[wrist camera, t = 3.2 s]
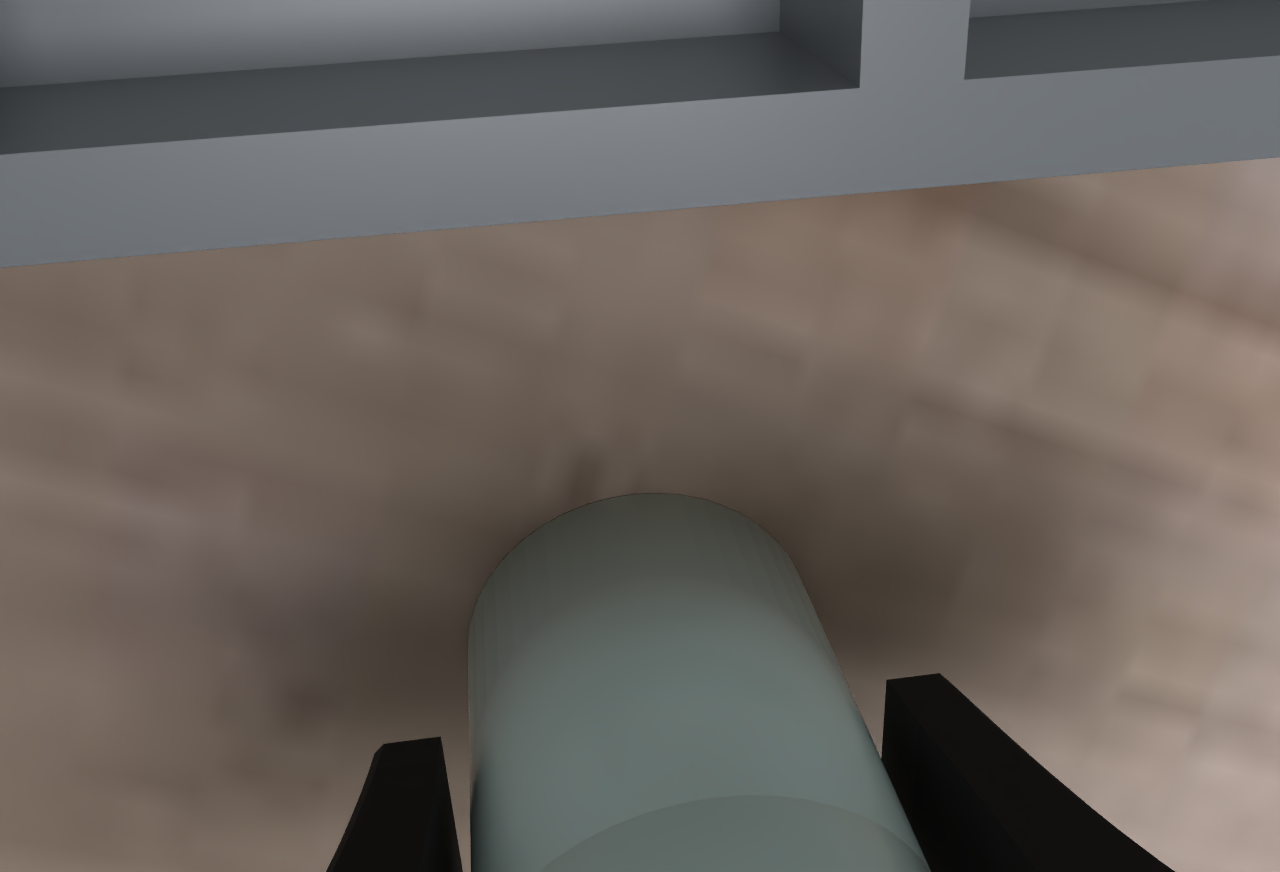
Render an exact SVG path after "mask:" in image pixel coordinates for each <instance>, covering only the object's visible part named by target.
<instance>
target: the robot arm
mask: <svg viewBox="0 0 1280 872" xmlns="http://www.w3.org/2000/svg"><path fill="white" fill-rule="evenodd" d="M881 760H882V762H883V765H884V767H885V769H886V771H887V774H888V776H889V778H890V780H891V783H892V785H893V787H894V789H895V792H896V794H897V796H898V798H899V801H900V803H901V805H902V807H903V810H904V812H905V814H906V816H907V819H908V821H909V823H910V825H911V828H912V830H913V832H914V834H915V837H916V839H917V841H918V843H919V846H920V848H921V850H922V852H923V855H924V857H925V859H926V861H927V864H928V866H929V868H930V870H931V872H1175V871H1173V870H1172V869H1170V868H1169V867H1168V866H1166V865H1165V864H1163V863H1162V862H1161V861H1159V860H1158V859H1157V858H1155V857H1154V856H1153V855H1151V854H1150V853H1149V852H1147V851H1146V850H1145V849H1143V848H1142V847H1141V846H1139V845H1138V844H1137V843H1135V842H1134V841H1133V840H1132V839H1130V838H1129V837H1128V836H1126V835H1125V834H1124V833H1122V832H1121V831H1120V830H1118V829H1117V828H1116V827H1115V826H1113V825H1112V824H1111V823H1110V822H1108V821H1107V820H1106V819H1105V818H1103V817H1102V816H1101V815H1100V814H1098V813H1097V812H1096V811H1095V810H1093V809H1092V808H1091V807H1090V806H1089V805H1088V804H1086V803H1085V802H1084V801H1083V800H1082V799H1080V798H1079V797H1078V796H1077V795H1076V794H1074V793H1073V792H1072V791H1071V790H1070V789H1069V788H1067V787H1066V786H1065V785H1064V784H1063V783H1061V782H1060V781H1059V780H1058V779H1057V778H1056V777H1054V776H1053V775H1052V774H1051V773H1050V772H1048V771H1047V770H1046V769H1045V768H1044V767H1043V766H1042V765H1040V764H1039V763H1038V762H1037V761H1036V760H1035V759H1034V758H1032V757H1031V756H1030V755H1029V754H1028V753H1027V752H1026V751H1025V750H1024V749H1022V748H1021V747H1020V746H1019V745H1018V744H1017V743H1016V742H1015V741H1014V740H1012V739H1011V738H1010V737H1009V736H1008V735H1007V734H1006V733H1005V732H1004V731H1002V730H1001V729H1000V728H999V727H998V726H997V725H996V724H995V723H994V722H993V721H992V720H990V719H989V718H988V717H987V716H986V715H985V714H984V713H983V712H982V711H981V710H980V709H979V708H977V707H976V706H975V705H974V704H973V703H972V702H971V701H970V700H969V699H968V698H967V697H966V696H964V695H963V694H962V693H961V692H960V691H959V690H958V689H957V688H956V687H955V686H953V685H952V684H951V683H950V682H949V681H948V680H947V679H946V678H944V677H943V676H942V675H941V674H940V673H938V674H930V675H922V676H914V677H906V678H898V679H891V680H887V682H886V697H885V712H884V728H883V743H882V758H881ZM326 872H463V870H462V864H461V858H460V852H459V846H458V840H457V834H456V828H455V821H454V815H453V809H452V803H451V797H450V791H449V785H448V779H447V772H446V766H445V760H444V754H443V748H442V742H441V737H434V738H427V739H419V740H411V741H403V742H395V743H387V744H383V745H382V746H381V747H380V748H379V749H378V750H377V752H376V753H375V754H374V757H373V760H372V763H371V767H370V770H369V773H368V775H367V778H366V781H365V784H364V786H363V789H362V792H361V794H360V797H359V799H358V802H357V804H356V807H355V809H354V812H353V814H352V817H351V819H350V821H349V823H348V826H347V828H346V830H345V833H344V835H343V837H342V839H341V842H340V844H339V846H338V848H337V851H336V853H335V855H334V857H333V859H332V861H331V863H330V865H329V867H328V869H327V871H326Z"/></svg>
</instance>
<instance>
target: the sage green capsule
mask: <svg viewBox="0 0 1280 872" xmlns="http://www.w3.org/2000/svg"><path fill="white" fill-rule="evenodd" d="M468 691H469V762H470V833H471V872H931V870H930V868H929V866H928V864H927V861H926V859H925V857H924V855H923V852H922V850H921V848H920V846H919V843H918V841H917V839H916V837H915V834H914V832H913V830H912V828H911V825H910V823H909V821H908V819H907V816H906V814H905V812H904V810H903V807H902V805H901V803H900V801H899V798H898V796H897V794H896V792H895V789H894V787H893V785H892V783H891V780H890V778H889V776H888V774H887V771H886V769H885V767H884V765H883V762H882V760H881V758H880V756H879V753H878V751H877V749H876V747H875V744H874V742H873V740H872V738H871V735H870V733H869V731H868V729H867V726H866V724H865V722H864V720H863V717H862V715H861V713H860V711H859V709H858V706H857V704H856V702H855V700H854V697H853V695H852V693H851V691H850V688H849V686H848V684H847V682H846V679H845V677H844V675H843V673H842V670H841V668H840V666H839V664H838V661H837V659H836V657H835V655H834V652H833V650H832V648H831V646H830V643H829V641H828V639H827V637H826V634H825V632H824V630H823V628H822V625H821V623H820V621H819V619H818V616H817V614H816V612H815V610H814V607H813V605H812V603H811V601H810V598H809V596H808V594H807V592H806V589H805V587H804V585H803V583H802V580H801V578H800V576H799V574H798V571H797V569H796V567H795V566H794V564H793V562H792V561H791V559H790V557H789V556H788V554H787V553H786V551H785V550H784V549H783V548H782V547H781V546H780V544H779V543H778V542H777V541H776V540H775V538H773V537H772V536H771V535H770V534H769V533H768V532H767V531H765V530H764V529H763V528H762V527H761V526H760V525H758V524H757V523H755V522H753V521H752V520H750V519H749V518H747V517H746V516H744V515H743V514H740V513H738V512H736V511H734V510H732V509H730V508H728V507H725V506H723V505H720V504H717V503H714V502H711V501H707V500H704V499H700V498H695V497H690V496H684V495H677V494H661V493H651V494H632V495H626V496H620V497H614V498H608V499H605V500H601V501H598V502H594V503H591V504H587V505H584V506H582V507H580V508H577V509H575V510H572V511H570V512H567V513H565V514H563V515H561V516H559V517H557V518H555V519H554V520H552V521H550V522H548V523H546V524H545V525H543V526H541V527H540V528H539V529H537V530H536V531H534V532H533V533H532V534H530V535H529V536H527V537H526V538H525V539H524V540H522V541H521V542H520V543H519V544H518V545H517V546H516V547H515V548H514V549H513V550H512V551H511V552H509V553H508V554H507V556H506V557H505V558H504V559H503V560H502V562H501V563H500V564H499V565H498V566H497V568H496V569H495V570H494V571H493V573H492V574H491V576H490V578H489V579H488V581H487V582H486V584H485V586H484V587H483V589H482V591H481V594H480V596H479V598H478V600H477V603H476V605H475V608H474V611H473V615H472V619H471V623H470V628H469V638H468Z"/></svg>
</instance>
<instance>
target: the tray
mask: <svg viewBox="0 0 1280 872" xmlns="http://www.w3.org/2000/svg"><path fill="white" fill-rule="evenodd" d="M1276 157H1280V0H0V268H2V267H14V266H25V265H37V264H48V263H60V262H71V261H83V260H95V259H106V258H118V257H129V256H141V255H153V254H164V253H176V252H187V251H199V250H210V249H222V248H234V247H245V246H257V245H268V244H280V243H292V242H303V241H315V240H326V239H338V238H349V237H361V236H373V235H384V234H396V233H407V232H419V231H430V230H442V229H454V228H465V227H477V226H488V225H500V224H512V223H523V222H535V221H546V220H558V219H569V218H581V217H593V216H604V215H616V214H627V213H639V212H651V211H662V210H674V209H685V208H697V207H708V206H720V205H732V204H743V203H755V202H766V201H778V200H790V199H801V198H813V197H824V196H836V195H847V194H859V193H871V192H882V191H894V190H905V189H917V188H928V187H940V186H952V185H963V184H975V183H986V182H998V181H1010V180H1021V179H1033V178H1044V177H1056V176H1067V175H1079V174H1091V173H1102V172H1114V171H1125V170H1137V169H1149V168H1160V167H1172V166H1183V165H1195V164H1206V163H1218V162H1230V161H1241V160H1253V159H1264V158H1276Z"/></svg>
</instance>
